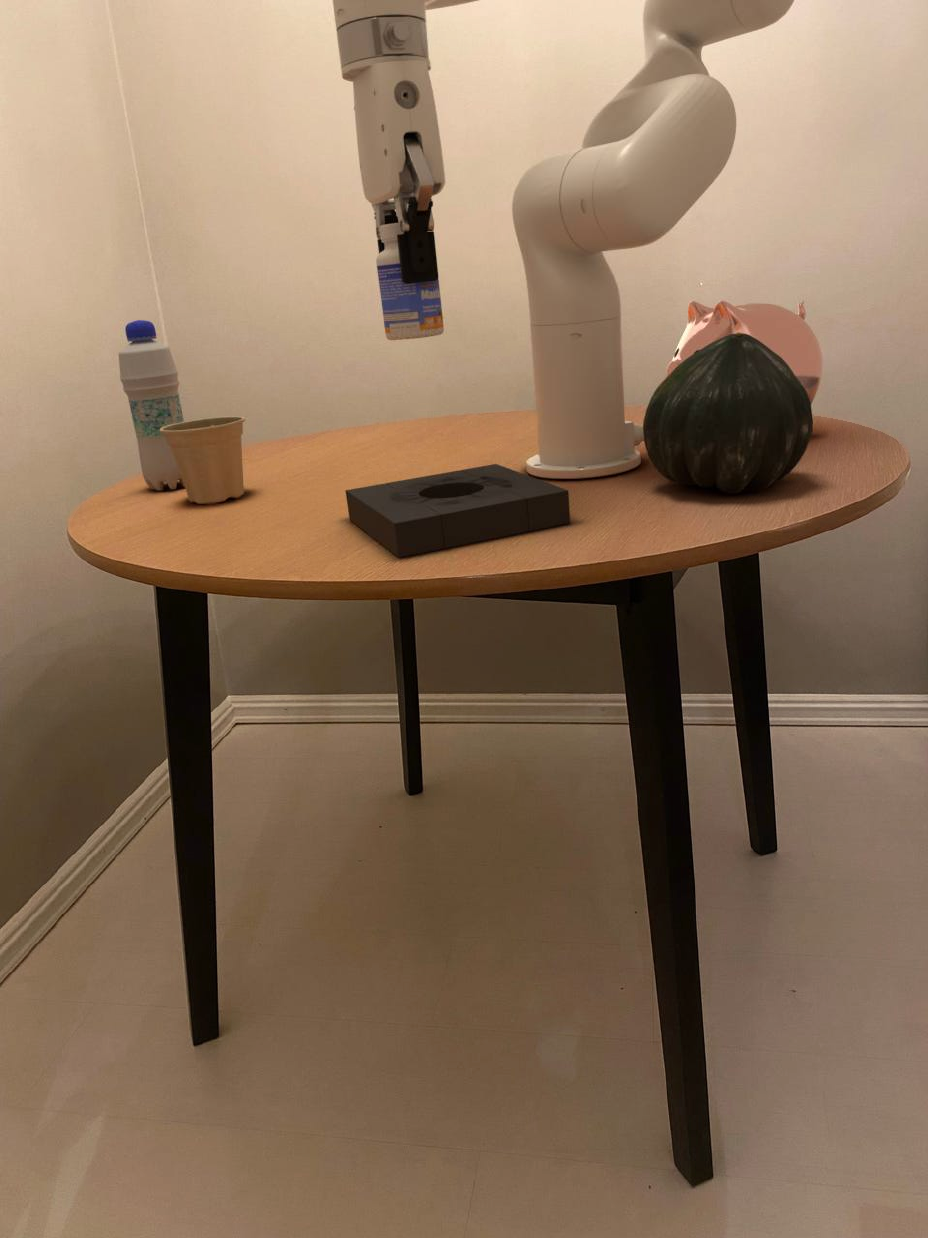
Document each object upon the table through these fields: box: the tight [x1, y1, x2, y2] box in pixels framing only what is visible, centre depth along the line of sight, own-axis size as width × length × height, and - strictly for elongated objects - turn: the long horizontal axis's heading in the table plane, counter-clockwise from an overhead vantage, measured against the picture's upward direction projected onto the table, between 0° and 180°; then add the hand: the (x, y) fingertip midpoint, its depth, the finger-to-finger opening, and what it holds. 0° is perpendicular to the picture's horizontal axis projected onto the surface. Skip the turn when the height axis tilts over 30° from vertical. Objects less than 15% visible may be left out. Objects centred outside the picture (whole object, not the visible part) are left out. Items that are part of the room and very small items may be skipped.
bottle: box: [117, 319, 185, 492], centre depth 114 cm, size 7×7×20 cm
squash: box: [642, 333, 814, 495], centre depth 88 cm, size 14×15×15 cm
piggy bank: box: [665, 300, 823, 437], centre depth 108 cm, size 15×18×16 cm
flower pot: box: [160, 415, 246, 505], centre depth 107 cm, size 9×9×9 cm
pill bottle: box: [375, 223, 445, 341], centre depth 85 cm, size 5×5×10 cm
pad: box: [345, 463, 571, 559], centre depth 87 cm, size 16×16×3 cm
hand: (409, 280), depth 85 cm, fingers closed on pill bottle, 5 cm apart
